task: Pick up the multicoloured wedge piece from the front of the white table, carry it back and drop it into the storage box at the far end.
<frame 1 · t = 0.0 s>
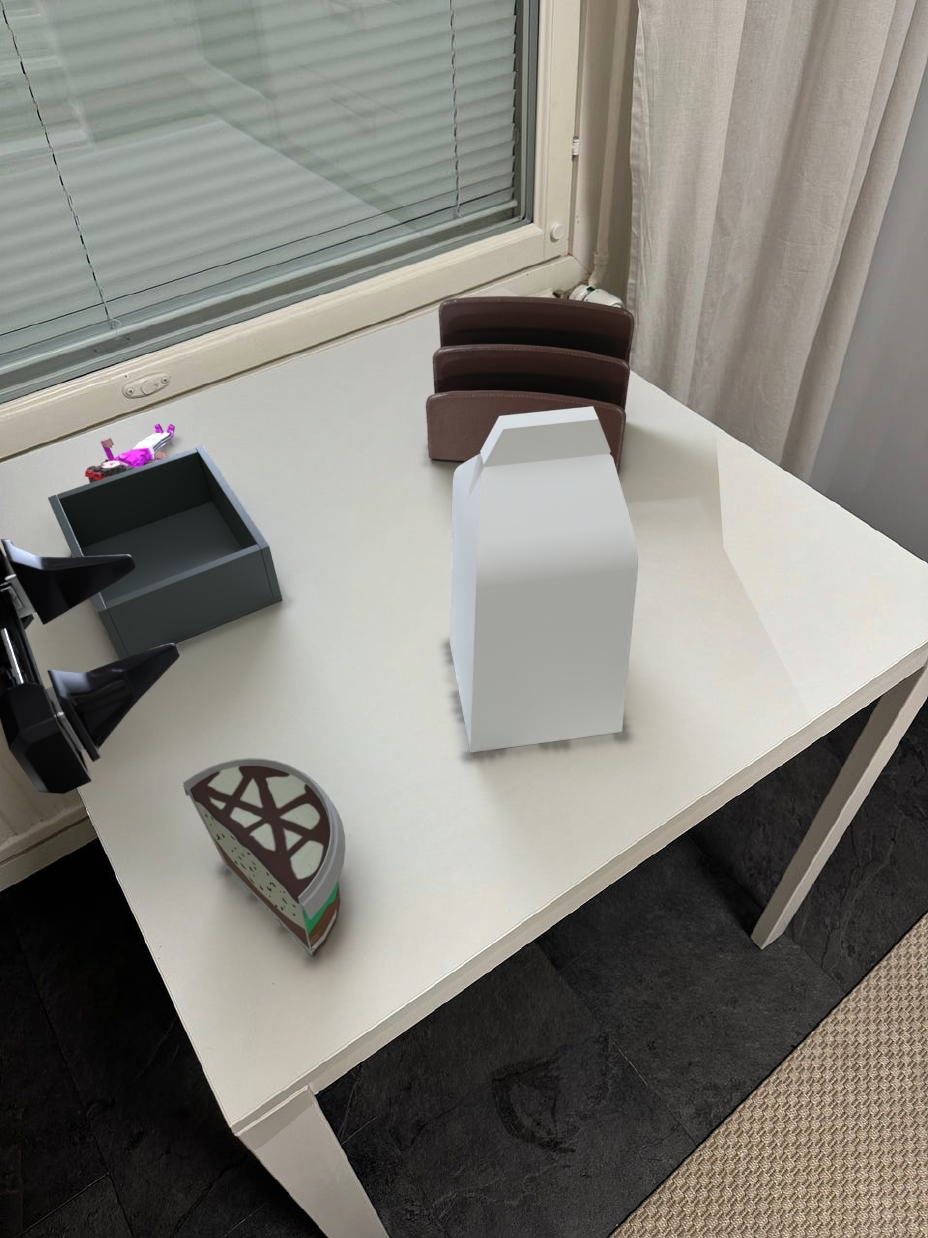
hand: (154, 603, 57), 16 cm above the table, tool horizontal, fingers open, 9 cm apart
character figurine: (141, 471, 93), on the table
letter holder: (526, 441, 95), on the table
storage box: (174, 574, 82), on the table
milk: (531, 686, 73), on the table
multicoloured wedge piece: (303, 880, 62), on the table
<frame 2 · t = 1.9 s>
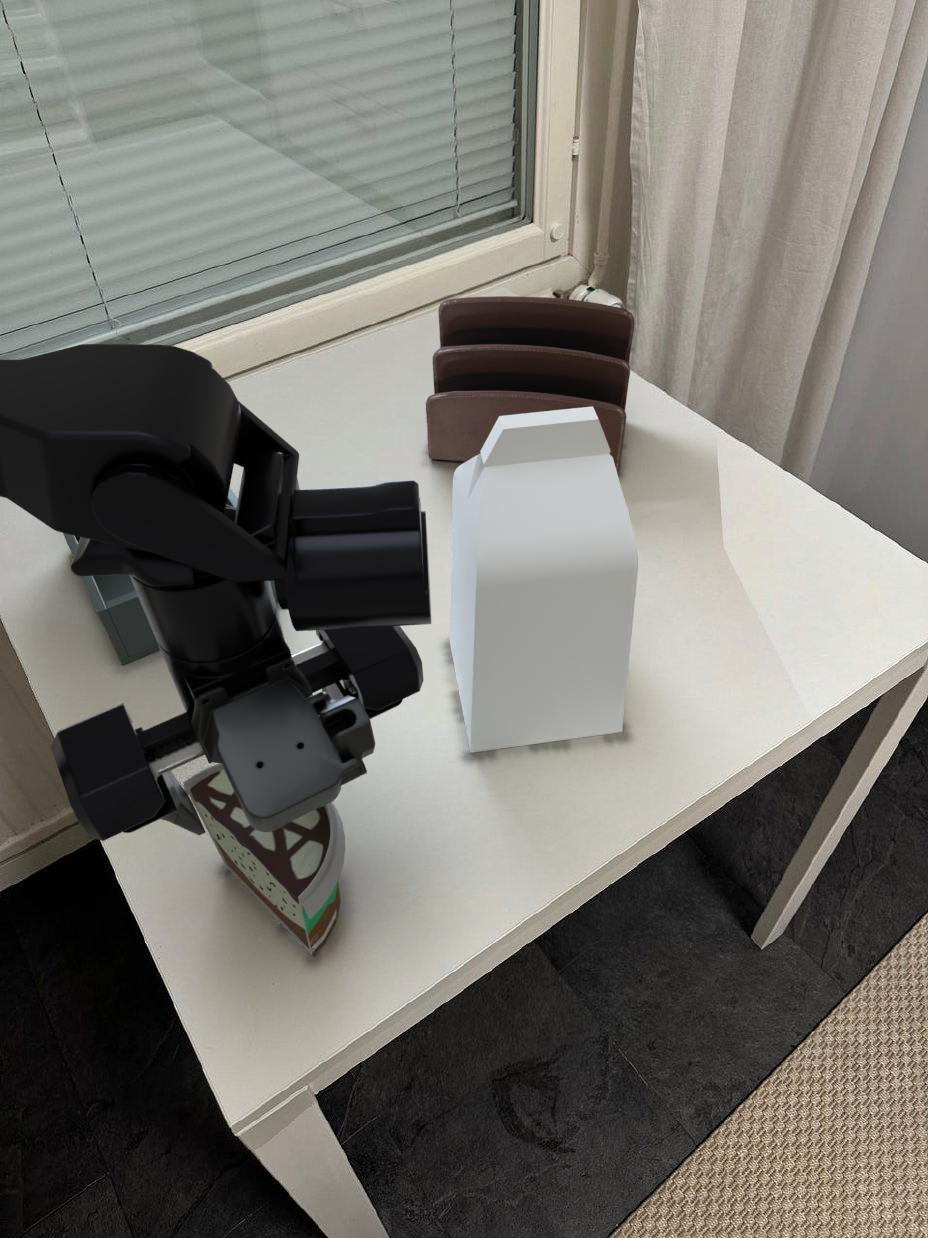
hand: (273, 792, 53), 11 cm above the table, tool pointing down, fingers open, 9 cm apart
nothing on the table moved.
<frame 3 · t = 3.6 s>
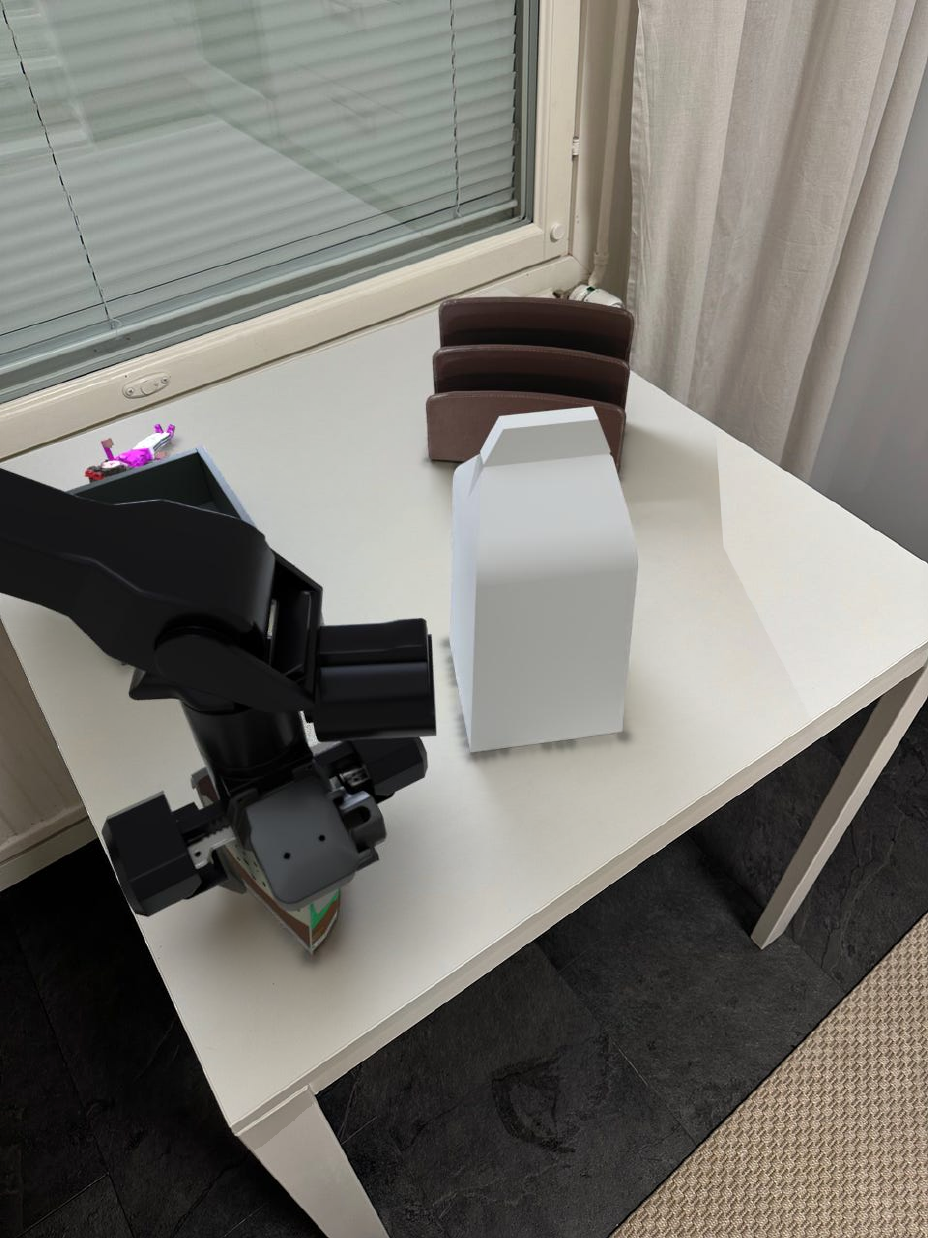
hand: (292, 861, 60), 3 cm above the table, tool pointing down, fingers closed on multicoloured wedge piece, 7 cm apart
multicoloured wedge piece: (303, 880, 62), on the table, touching gripper
everything else where it was.
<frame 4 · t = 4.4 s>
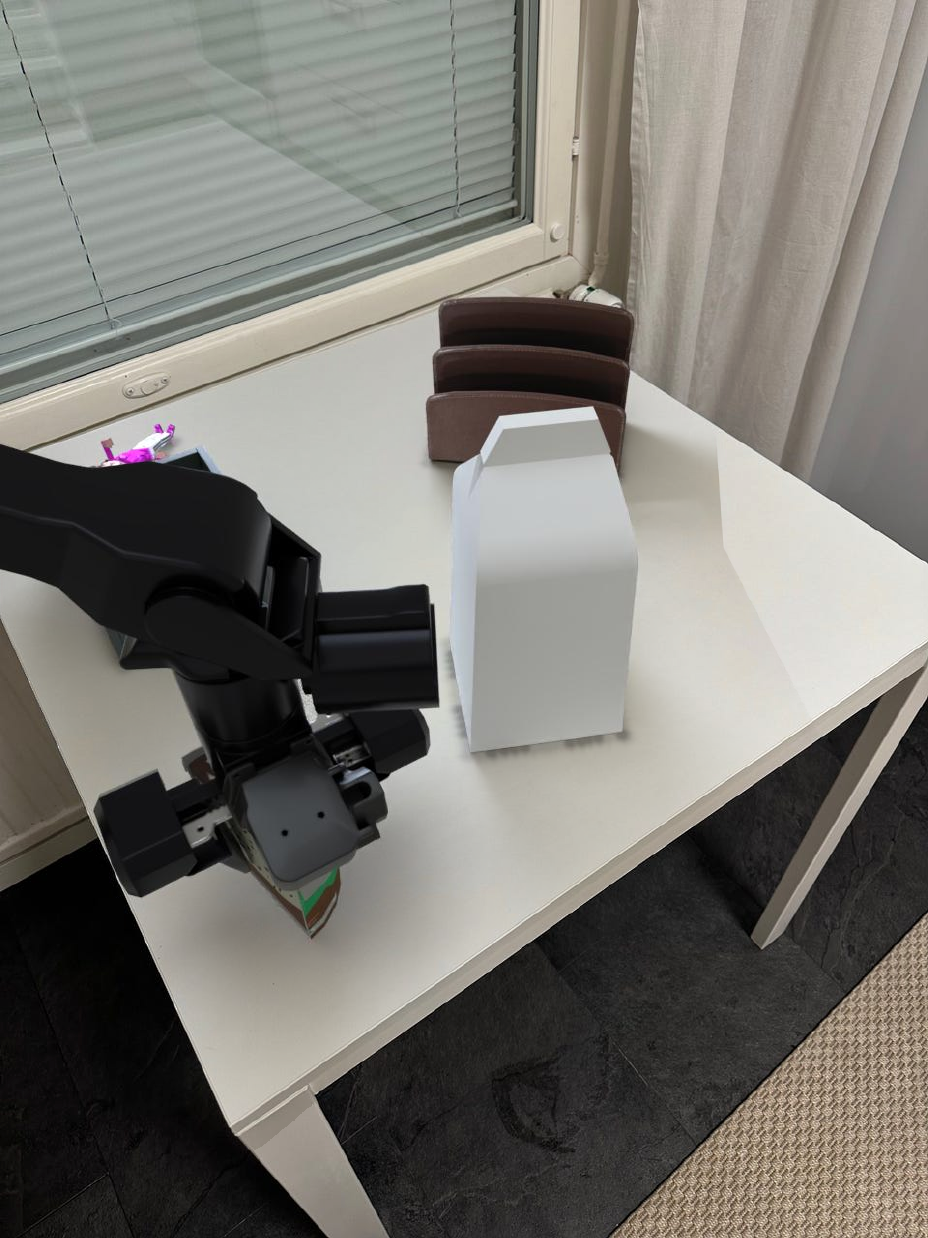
hand: (291, 843, 58), 5 cm above the table, tool pointing down, fingers closed on multicoloured wedge piece, 6 cm apart
multicoloured wedge piece: (304, 862, 60), point 2 cm above the table, touching gripper
everything else where it was.
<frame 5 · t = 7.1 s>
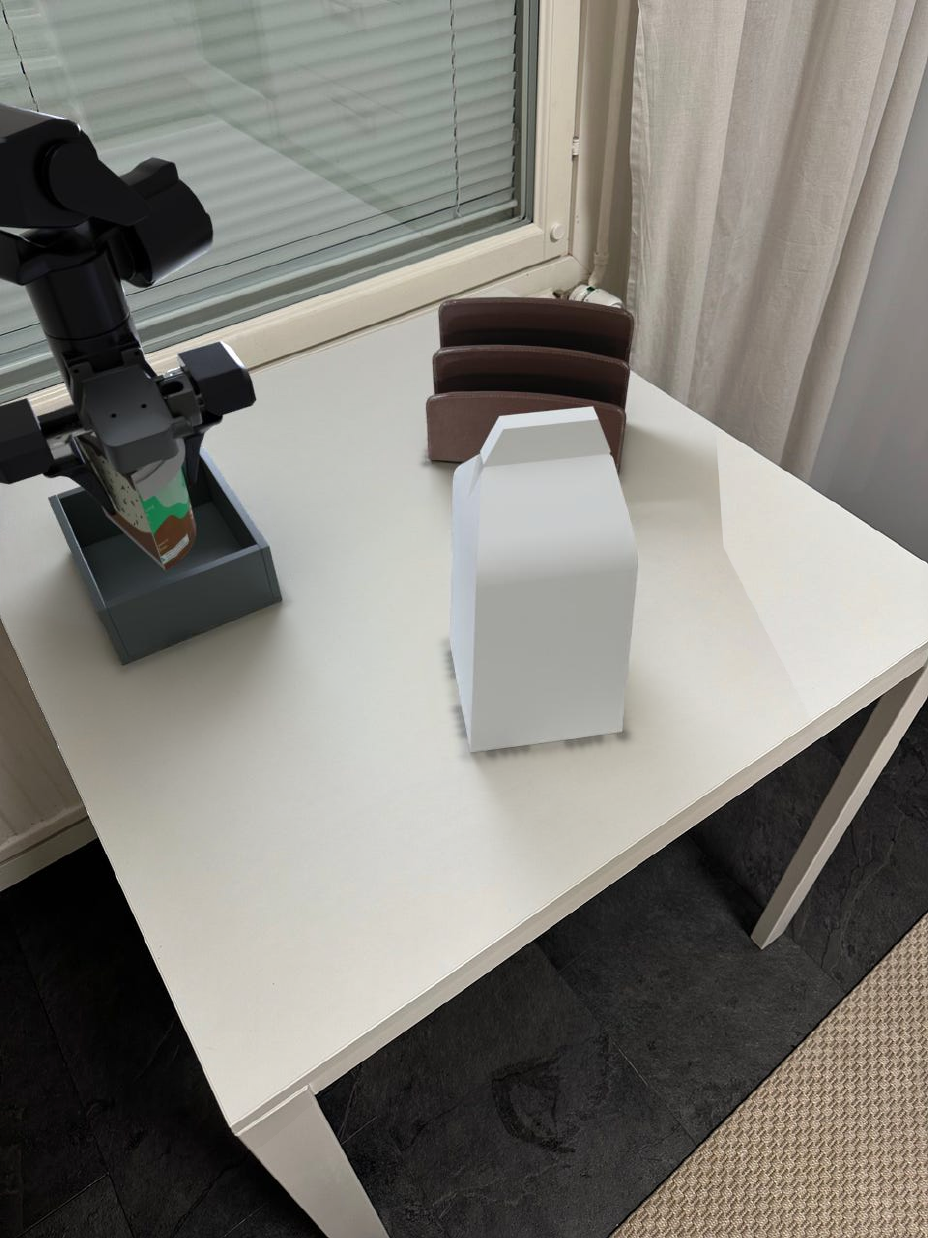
hand: (152, 498, 71), 12 cm above the table, tool pointing down, fingers closed on multicoloured wedge piece, 6 cm apart
multicoloured wedge piece: (168, 525, 73), point 9 cm above the table, touching gripper
everything else where it was.
when the fingers open (6 cm above the table, at t = 9.6 s): multicoloured wedge piece drops 2 cm, resting on storage box.
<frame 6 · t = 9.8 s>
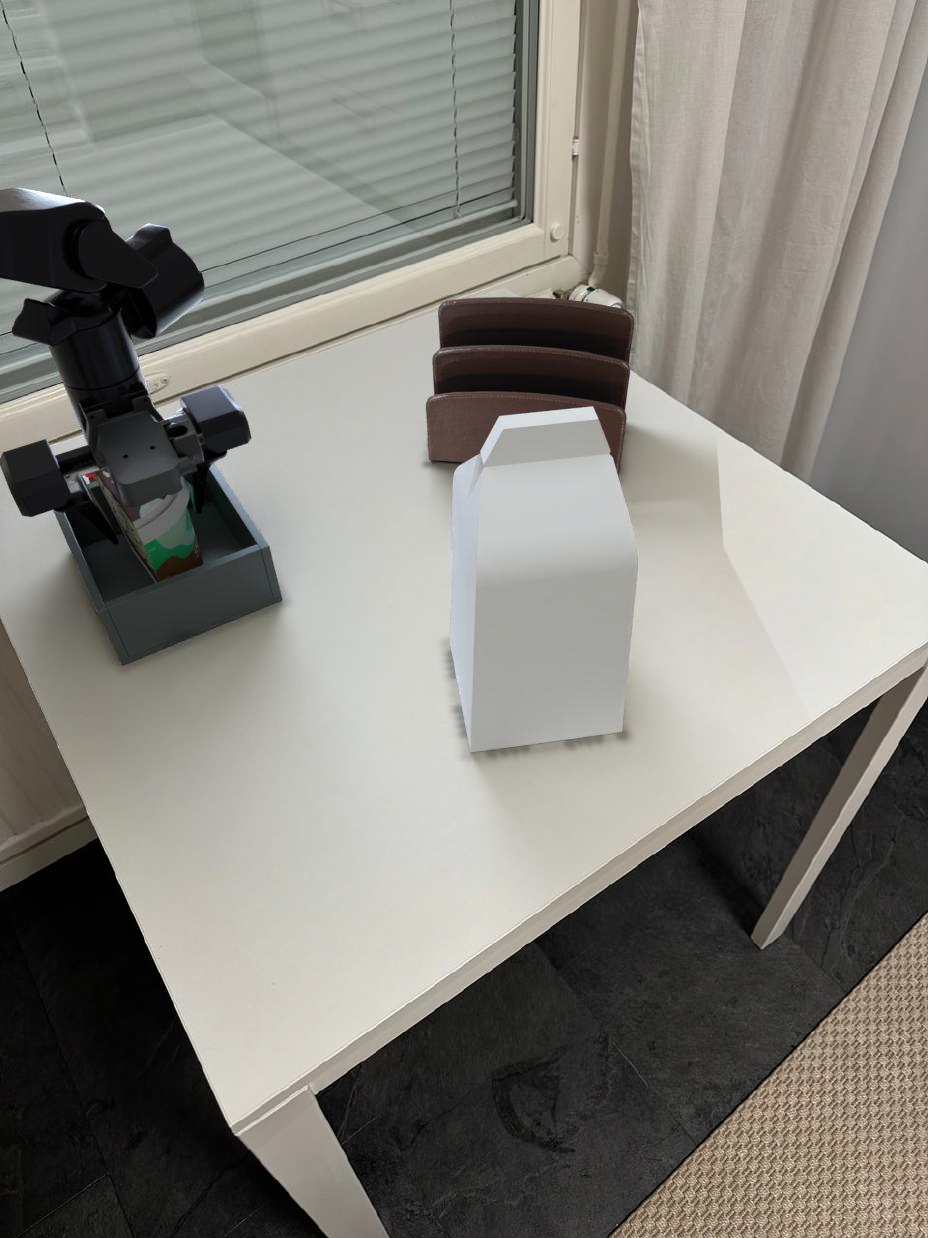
hand: (157, 526, 78), 6 cm above the table, tool pointing down, fingers open, 7 cm apart
multicoloured wedge piece: (180, 560, 83), point 1 cm above the table, touching gripper, storage box
everything else where it was.
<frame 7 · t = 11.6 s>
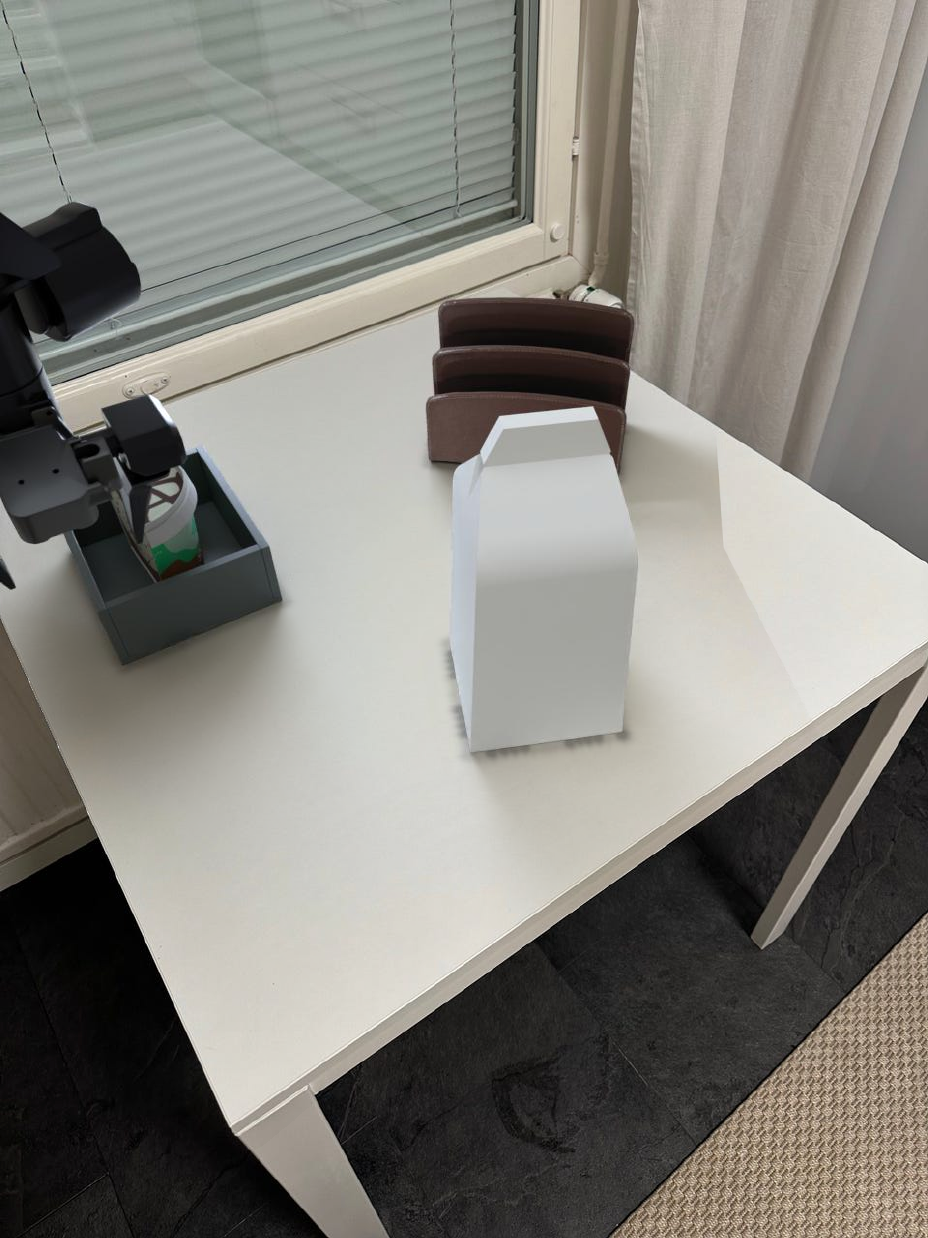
hand: (77, 562, 65), 13 cm above the table, tool pointing down, fingers open, 9 cm apart
multicoloured wedge piece: (181, 563, 83), resting on storage box
everything else where it was.
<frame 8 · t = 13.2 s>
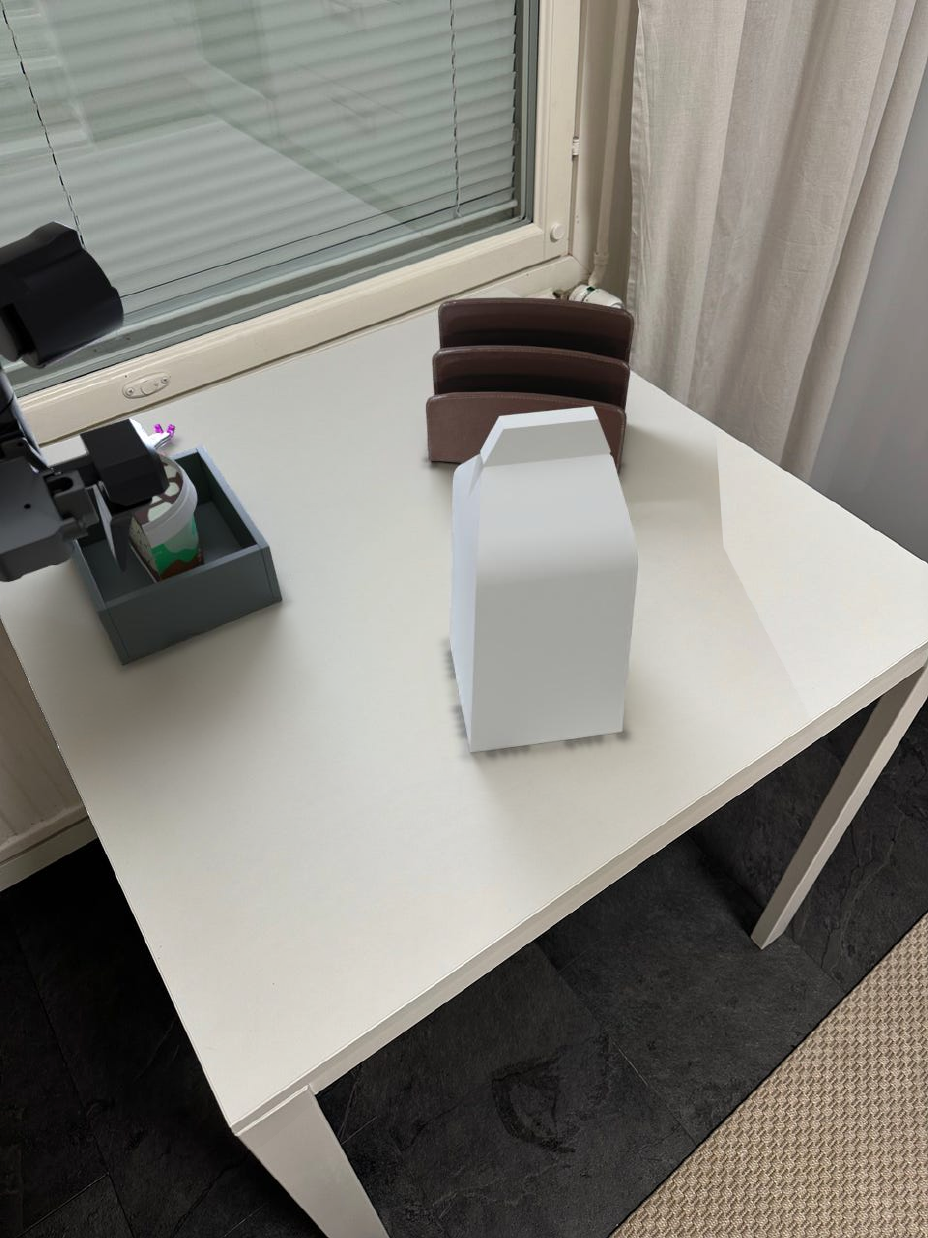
hand: (58, 592, 63), 13 cm above the table, tool pointing down, fingers open, 9 cm apart
nothing on the table moved.
at the end: multicoloured wedge piece inside the target area in the storage box (1.2 cm from its centre), point 0.4 cm above the storage box's base; the gripper is holding nothing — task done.
